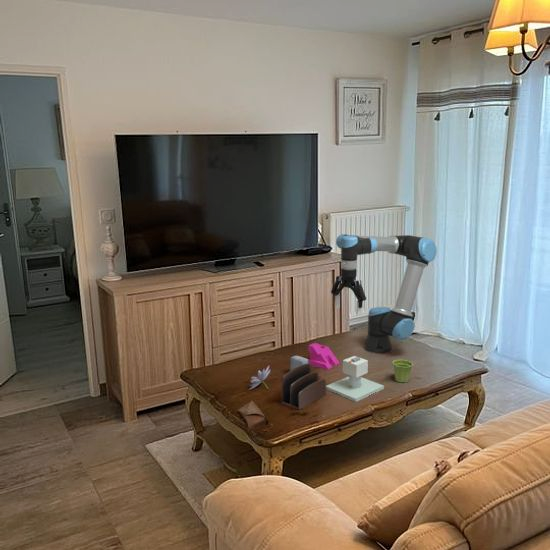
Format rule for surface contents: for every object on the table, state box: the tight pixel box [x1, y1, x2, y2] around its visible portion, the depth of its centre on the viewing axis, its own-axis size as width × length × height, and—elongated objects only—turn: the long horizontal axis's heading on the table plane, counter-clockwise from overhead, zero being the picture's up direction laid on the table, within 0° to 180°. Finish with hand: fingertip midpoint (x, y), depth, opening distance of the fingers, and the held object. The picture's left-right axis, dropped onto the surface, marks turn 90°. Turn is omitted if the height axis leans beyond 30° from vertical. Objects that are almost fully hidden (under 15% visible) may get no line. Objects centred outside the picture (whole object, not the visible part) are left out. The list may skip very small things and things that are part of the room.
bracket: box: [308, 342, 340, 371], centre depth 288 cm, size 12×10×10 cm
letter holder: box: [281, 363, 327, 411], centre depth 248 cm, size 10×20×14 cm, turn 139°
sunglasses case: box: [236, 400, 269, 429], centre depth 233 cm, size 18×7×7 cm
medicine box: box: [290, 355, 309, 371], centre depth 275 cm, size 8×4×9 cm, turn 47°
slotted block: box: [342, 355, 369, 378], centre depth 257 cm, size 8×8×6 cm
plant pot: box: [392, 359, 414, 383], centre depth 268 cm, size 9×9×9 cm
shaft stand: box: [326, 356, 385, 403], centre depth 258 cm, size 20×18×15 cm
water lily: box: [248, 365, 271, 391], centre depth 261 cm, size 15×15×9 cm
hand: (347, 311), depth 274 cm, fingers open, 13 cm apart
